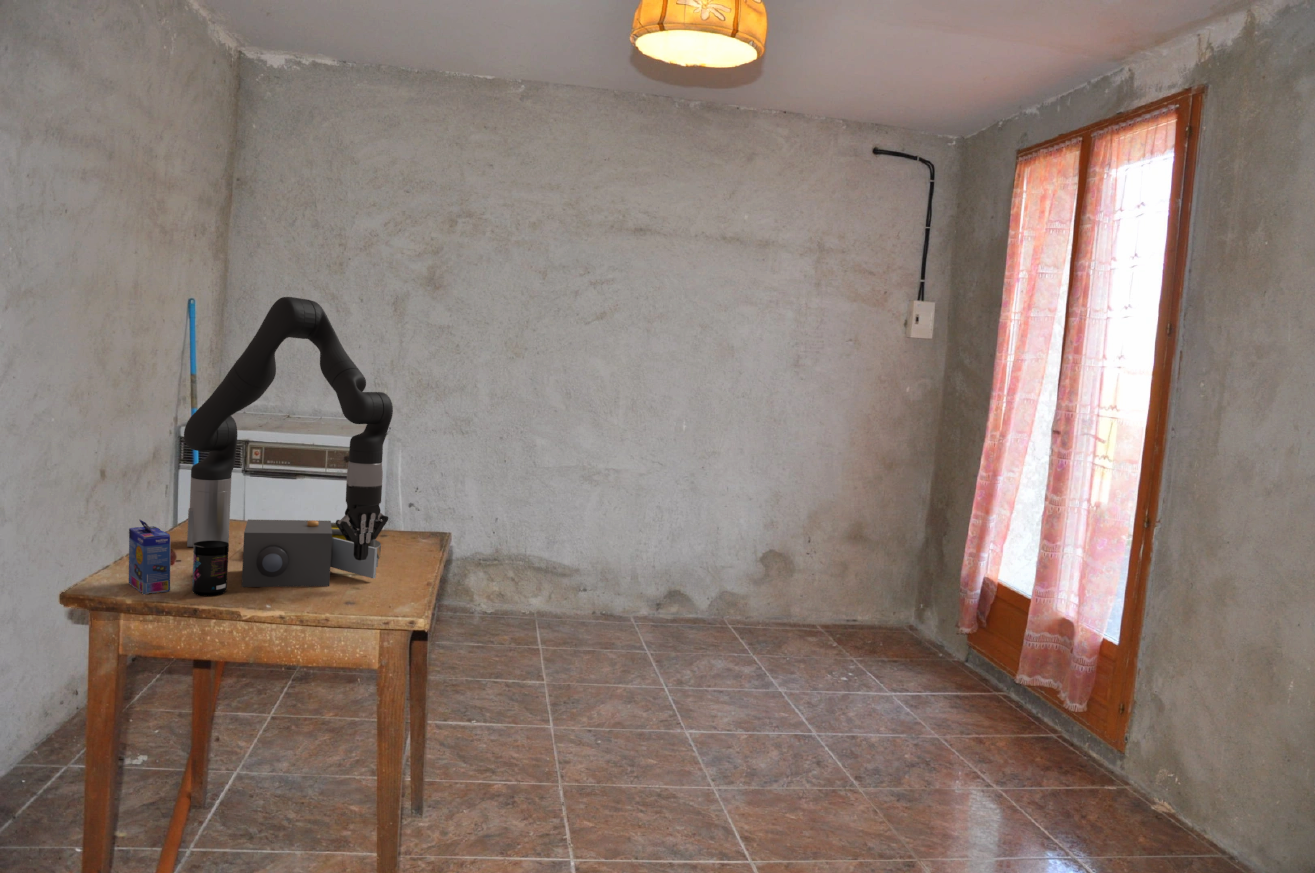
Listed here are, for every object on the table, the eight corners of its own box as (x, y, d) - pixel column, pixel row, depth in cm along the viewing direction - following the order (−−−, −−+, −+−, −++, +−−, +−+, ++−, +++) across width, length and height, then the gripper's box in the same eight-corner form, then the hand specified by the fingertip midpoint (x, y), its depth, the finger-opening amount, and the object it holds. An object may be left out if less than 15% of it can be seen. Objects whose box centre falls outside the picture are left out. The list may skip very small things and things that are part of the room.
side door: (373, 578, 217) (374, 548, 216) (329, 566, 224) (330, 537, 223) (377, 577, 218) (379, 547, 217) (333, 565, 225) (335, 536, 224)
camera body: (240, 590, 202) (243, 530, 201) (245, 570, 218) (247, 515, 216) (329, 589, 208) (332, 531, 207) (327, 570, 224) (330, 516, 223)
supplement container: (207, 586, 203) (209, 538, 202) (234, 591, 201) (236, 543, 200) (184, 593, 196) (186, 544, 195) (211, 598, 195) (213, 549, 194)
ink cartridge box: (126, 584, 200) (128, 516, 198) (154, 580, 204) (156, 514, 202) (142, 595, 193) (144, 525, 191) (170, 591, 197) (173, 523, 195)
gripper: (377, 477, 215) (373, 552, 217) (328, 481, 204) (324, 560, 206) (399, 482, 211) (395, 558, 212) (350, 487, 200) (346, 567, 202)
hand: (360, 559), depth 209 cm, fingers closed
